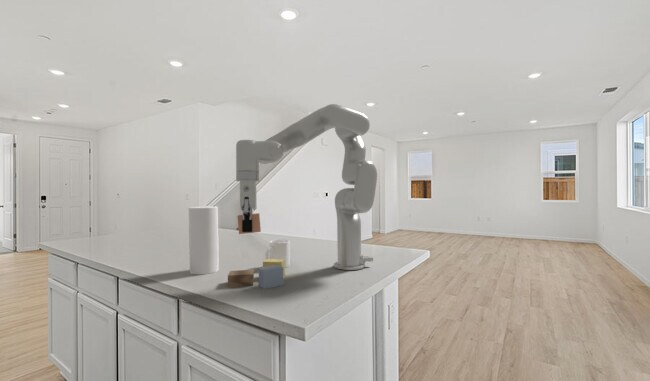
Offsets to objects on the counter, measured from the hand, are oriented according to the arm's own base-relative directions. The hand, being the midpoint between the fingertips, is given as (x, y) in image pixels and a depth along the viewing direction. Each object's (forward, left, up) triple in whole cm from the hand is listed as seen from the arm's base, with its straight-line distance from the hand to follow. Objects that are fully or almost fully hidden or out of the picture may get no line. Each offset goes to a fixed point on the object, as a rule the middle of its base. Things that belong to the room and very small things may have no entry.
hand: (247, 230), depth 110 cm
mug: (-10, -20, -18) cm, 29 cm away
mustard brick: (-9, -6, -18) cm, 21 cm away
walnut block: (+2, 0, -18) cm, 18 cm away
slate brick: (-8, +4, -18) cm, 20 cm away
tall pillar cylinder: (+18, -20, -18) cm, 33 cm away
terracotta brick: (-1, 0, -1) cm, 1 cm away
